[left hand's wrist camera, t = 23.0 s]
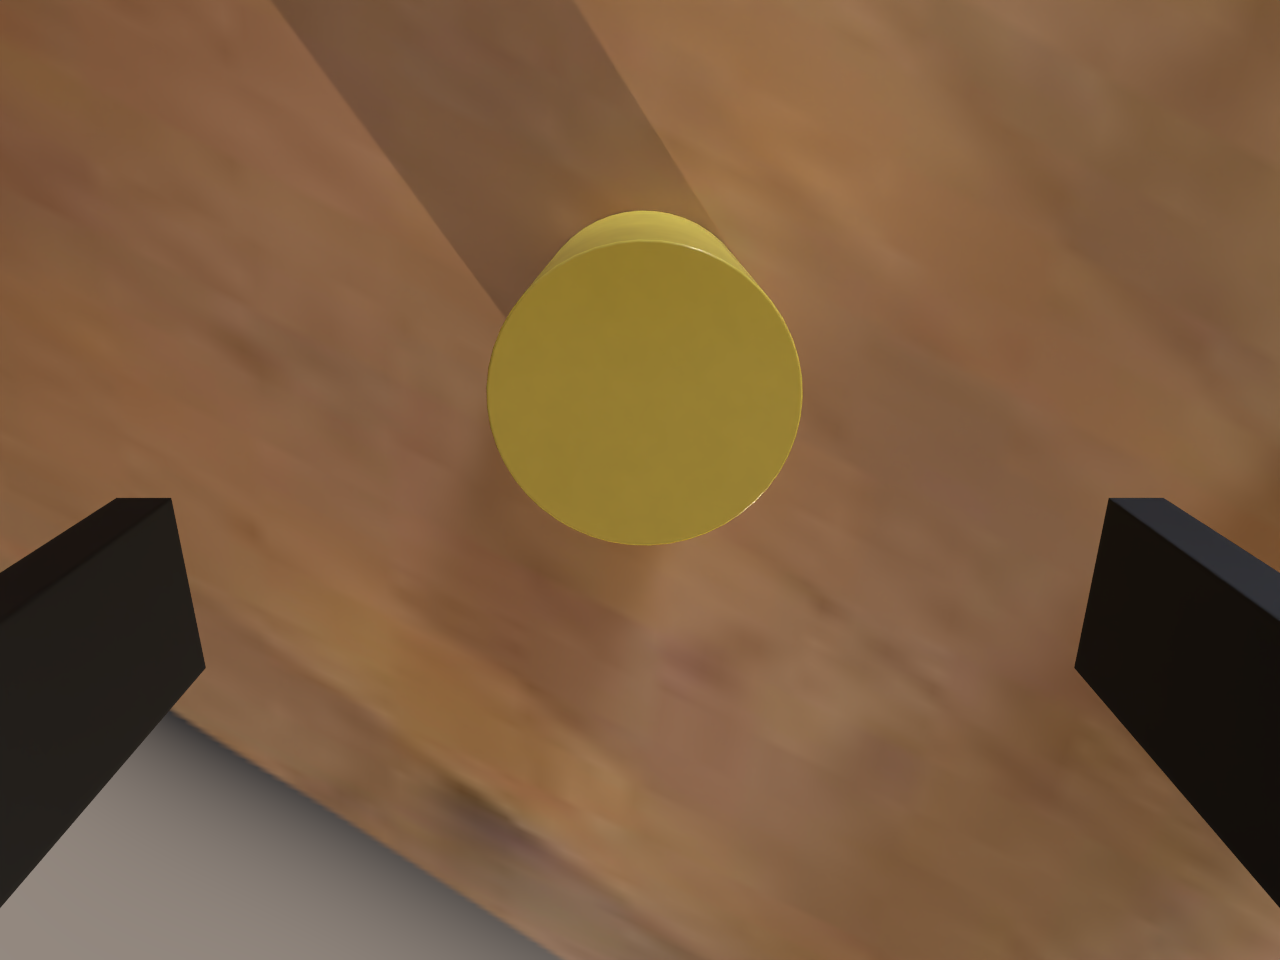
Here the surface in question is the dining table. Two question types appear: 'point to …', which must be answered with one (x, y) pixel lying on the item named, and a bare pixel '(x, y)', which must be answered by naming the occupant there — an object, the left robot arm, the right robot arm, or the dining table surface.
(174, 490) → the dining table surface
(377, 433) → the dining table surface
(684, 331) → the tin
